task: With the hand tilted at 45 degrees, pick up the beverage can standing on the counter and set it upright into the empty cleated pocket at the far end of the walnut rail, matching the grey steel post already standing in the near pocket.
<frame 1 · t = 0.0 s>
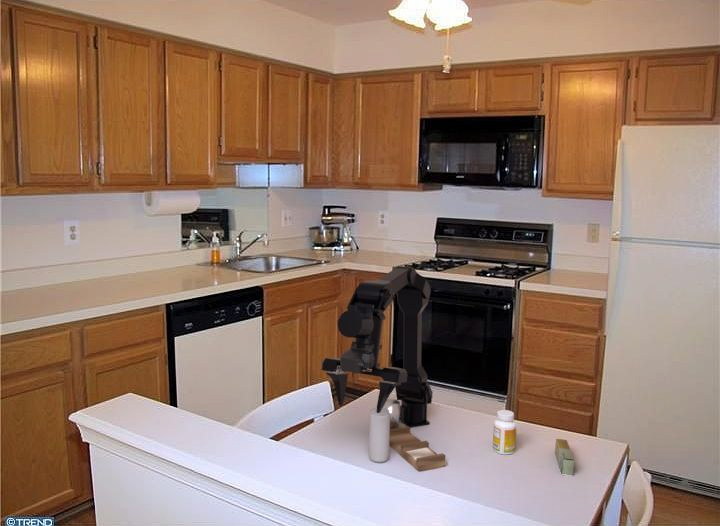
hand: (359, 409, 139), 15 cm above the table, tool pointing down, fingers open, 9 cm apart
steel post: (390, 428, 164), resting on walnut rail
walnut rail: (405, 446, 157), on the table
medication box: (563, 465, 149), on the table
beverage can: (378, 459, 150), on the table
supplement bottle: (503, 451, 156), on the table
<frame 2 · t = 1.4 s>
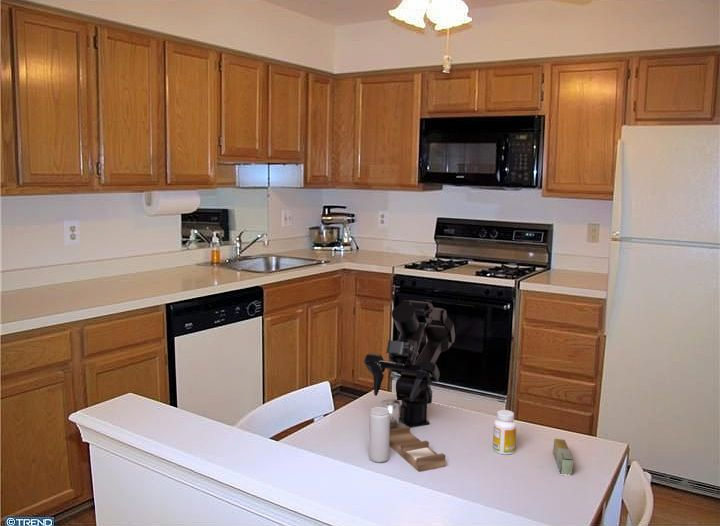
hand: (392, 397, 155), 12 cm above the table, tool tilted 45°, fingers open, 9 cm apart
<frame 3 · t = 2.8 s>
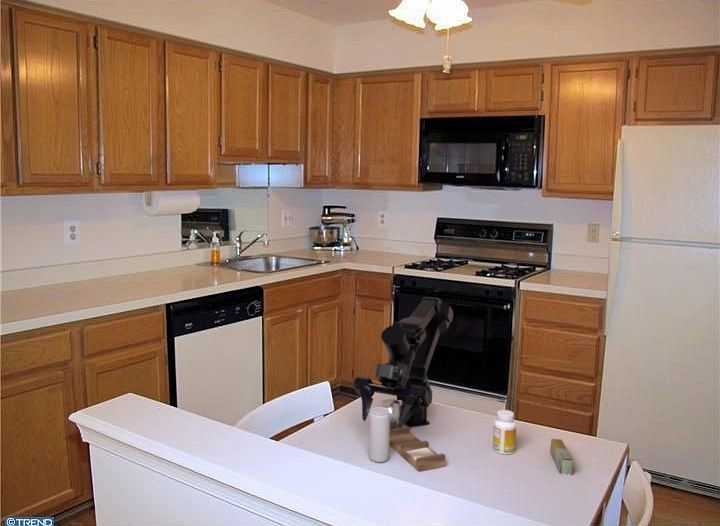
hand: (381, 423, 150), 8 cm above the table, tool tilted 45°, fingers open, 9 cm apart
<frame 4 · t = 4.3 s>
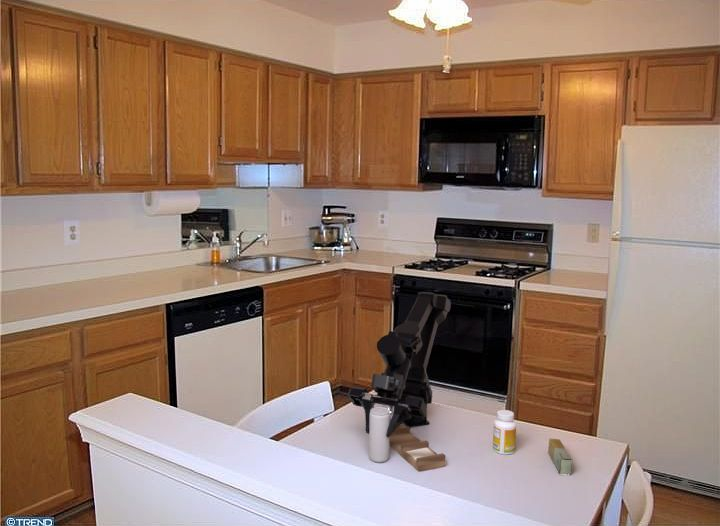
hand: (377, 434, 148), 7 cm above the table, tool tilted 45°, fingers closed on beverage can, 5 cm apart
beverage can: (378, 459, 150), on the table, touching gripper
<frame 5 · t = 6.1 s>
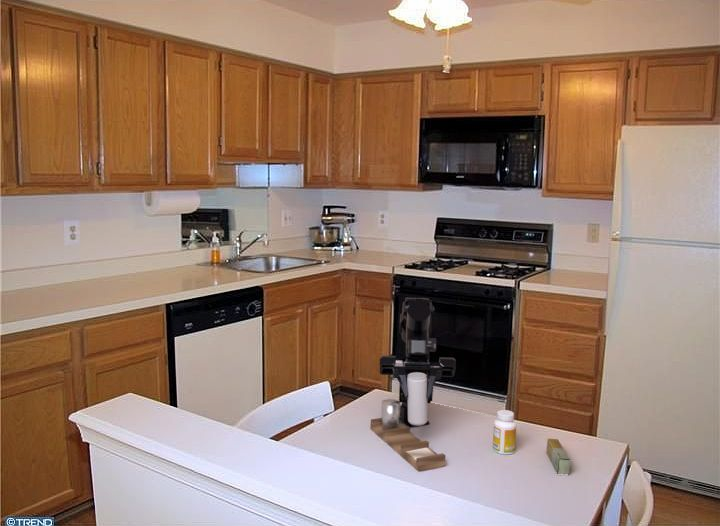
hand: (417, 398, 153), 13 cm above the table, tool tilted 45°, fingers closed on beverage can, 5 cm apart
beverage can: (417, 423, 155), point 6 cm above the table, touching gripper
when the fingers open (9 cm above the table, at t = 8.3 s): beverage can stays where it is, resting on walnut rail.
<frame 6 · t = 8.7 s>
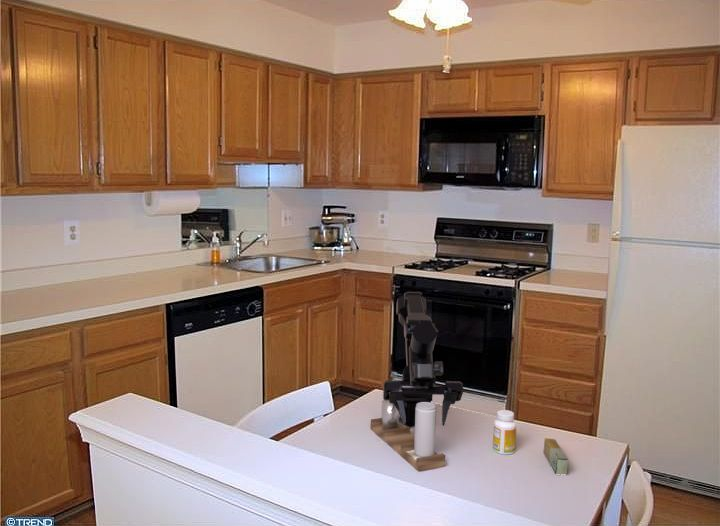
hand: (424, 424, 146), 10 cm above the table, tool tilted 45°, fingers open, 9 cm apart
beverage can: (424, 455, 149), point 1 cm above the table, touching walnut rail
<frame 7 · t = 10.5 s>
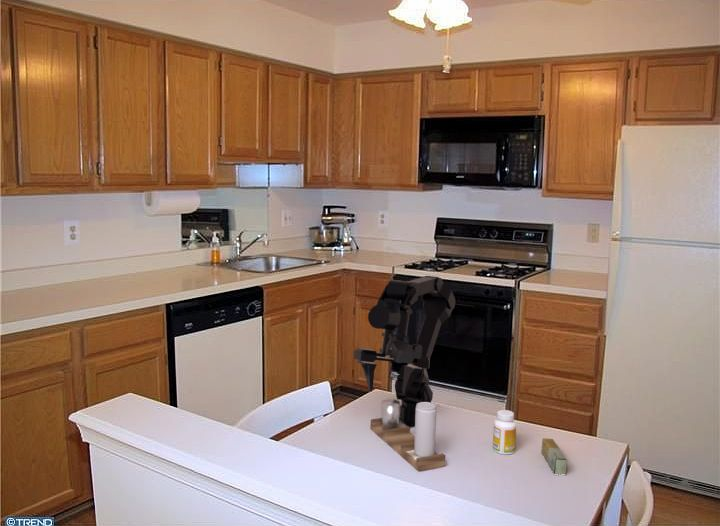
hand: (387, 392, 157), 13 cm above the table, tool pointing down, fingers open, 9 cm apart
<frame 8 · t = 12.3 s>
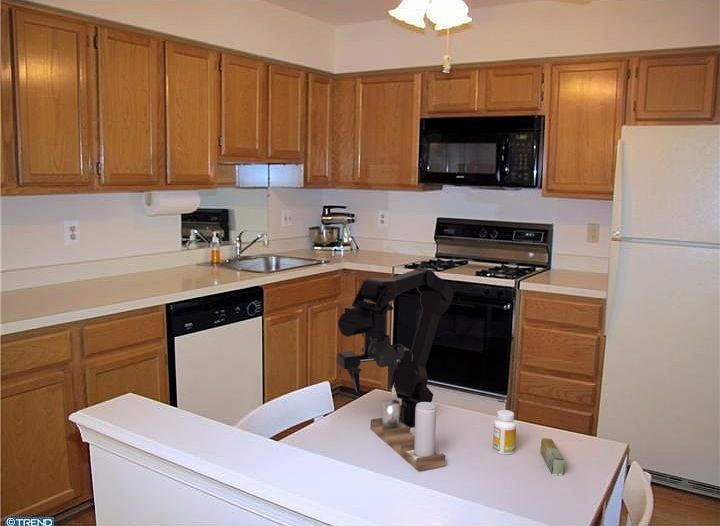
hand: (374, 390, 159), 13 cm above the table, tool pointing down, fingers open, 9 cm apart
at the end: beverage can 0.5 cm from the target spot, point 1.4 cm above the table; beverage can tilted 0°; the gripper is holding nothing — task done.
